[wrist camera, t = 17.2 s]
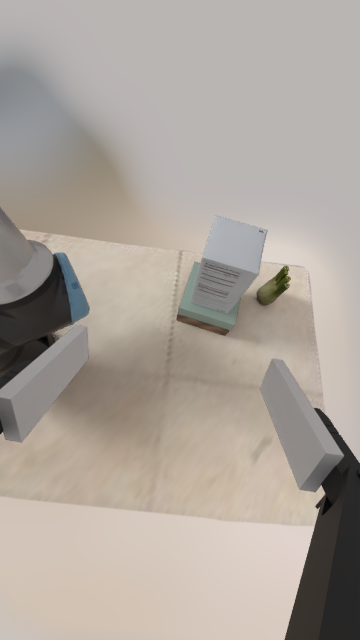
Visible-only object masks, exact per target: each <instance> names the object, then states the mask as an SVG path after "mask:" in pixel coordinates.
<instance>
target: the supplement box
mask: <svg viewBox="0 0 360 640" xmlns="http://www.w3.org/2000/svg"><path fill="white" fill-rule="evenodd" d="M266 234H267V230H265V229H262V228H258V227H255V226H252V225H249V224H245V223H241V222H238V221H234V220H231V219H227V218H224V217H221V216H215V219H214V222H213V225H212V227H211V230H210V233H209V236H208V240H207V243H206V246H205V249H204V252H203V256H202V259H201V263H200V267H199V271H198V274H197V278H196V282H195V286H194V290H193V293H192V297H191V301H190V302H191V303H193V304H197V305H200V306H203V307H206V308H210V309H213V310H216V311H220V312H223V313H226V314H228V313H229V312H230V310H231V309H232V308H233V307H234V305H235V304H236V303H237V302H238V300H239V299H240V297H241V296H242V295H243V294H244V292H245V291H246V290H247V289H248V287H249V286H250V285H251V284H252V282H253V281H254V280H255V279H256V277H257V276H258V275H259V270H260V264H261V258H262V252H263V247H264V243H265V238H266Z"/></svg>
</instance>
